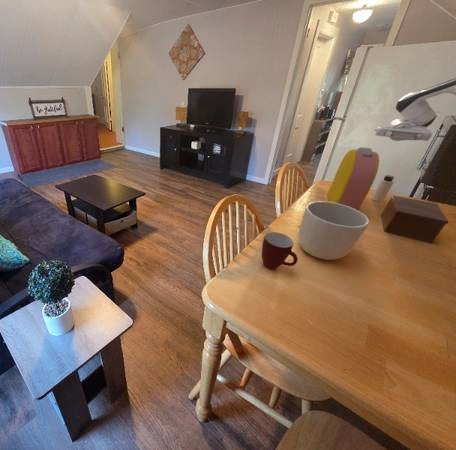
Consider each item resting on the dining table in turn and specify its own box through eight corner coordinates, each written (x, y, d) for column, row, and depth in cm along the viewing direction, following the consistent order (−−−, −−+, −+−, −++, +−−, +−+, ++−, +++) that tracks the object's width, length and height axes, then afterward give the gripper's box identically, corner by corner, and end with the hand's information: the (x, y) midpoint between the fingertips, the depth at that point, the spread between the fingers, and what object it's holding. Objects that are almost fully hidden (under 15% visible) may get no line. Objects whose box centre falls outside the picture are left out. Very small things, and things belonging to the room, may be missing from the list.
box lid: (447, 224, 84) (448, 221, 83) (396, 213, 90) (397, 211, 90) (435, 205, 95) (436, 203, 95) (391, 197, 102) (392, 195, 101)
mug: (294, 265, 78) (304, 240, 73) (290, 280, 73) (300, 254, 67) (260, 253, 83) (268, 229, 78) (254, 266, 78) (261, 241, 72)
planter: (347, 274, 75) (371, 234, 67) (288, 254, 83) (302, 216, 75) (348, 247, 87) (368, 210, 79) (296, 232, 95) (309, 196, 87)
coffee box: (431, 243, 89) (446, 223, 85) (384, 231, 96) (396, 212, 91) (422, 224, 100) (435, 205, 95) (380, 215, 107) (391, 197, 102)
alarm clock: (356, 216, 106) (387, 156, 92) (331, 212, 109) (358, 153, 95) (348, 197, 122) (373, 143, 108) (327, 194, 125) (349, 141, 111)
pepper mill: (381, 198, 121) (393, 175, 115) (385, 202, 118) (398, 178, 111) (369, 196, 123) (381, 174, 116) (373, 200, 119) (385, 177, 113)
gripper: (377, 122, 127) (379, 126, 117) (430, 126, 117) (438, 131, 107) (371, 135, 130) (373, 140, 120) (423, 140, 120) (429, 146, 111)
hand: (404, 136), depth 114 cm, fingers open, 8 cm apart
